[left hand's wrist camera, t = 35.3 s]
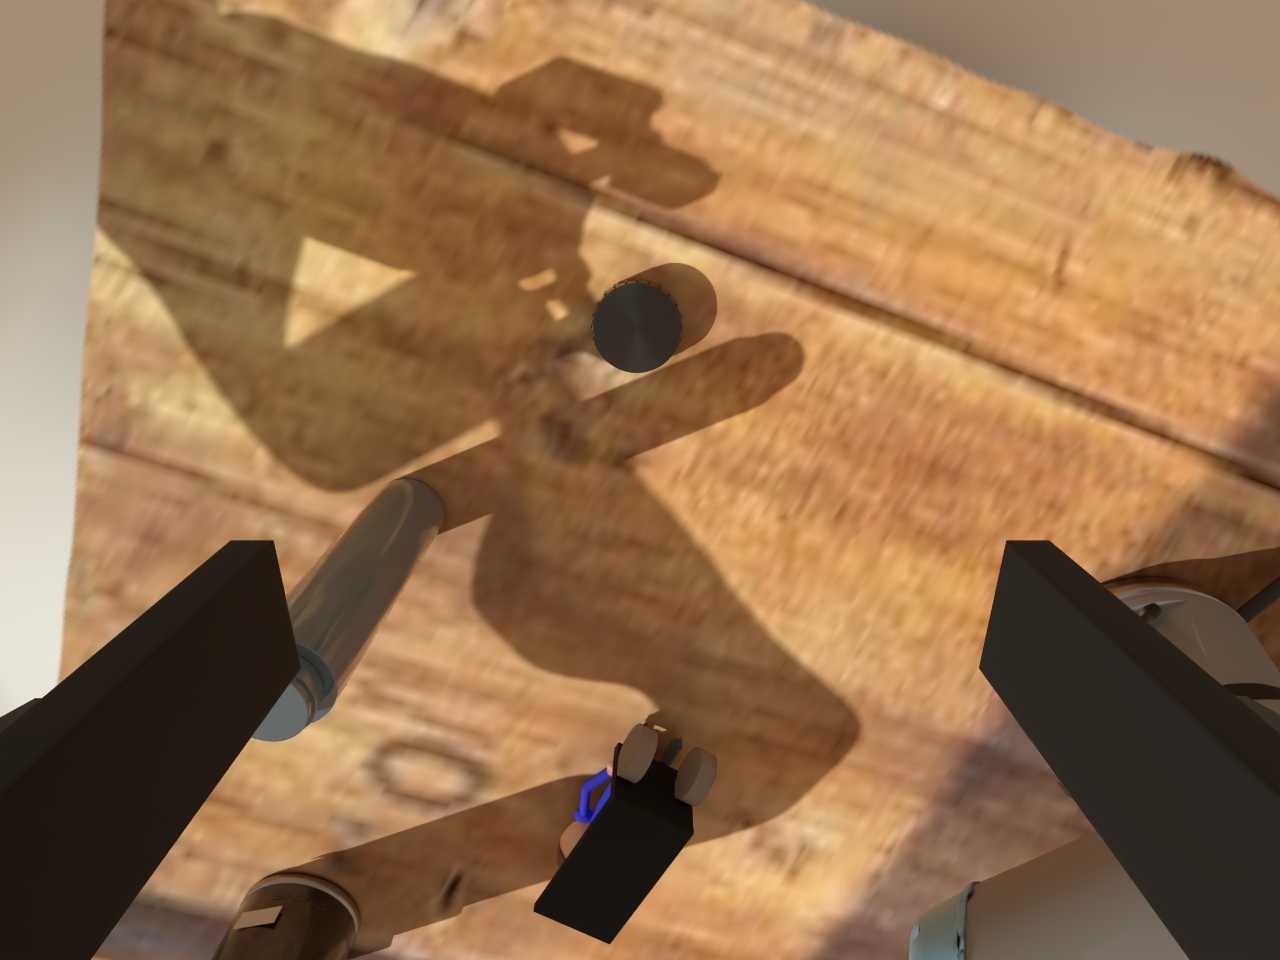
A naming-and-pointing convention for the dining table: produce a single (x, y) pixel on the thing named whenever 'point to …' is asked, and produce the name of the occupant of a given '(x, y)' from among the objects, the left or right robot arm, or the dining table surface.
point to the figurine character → (625, 834)
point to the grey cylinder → (351, 599)
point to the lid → (636, 326)
